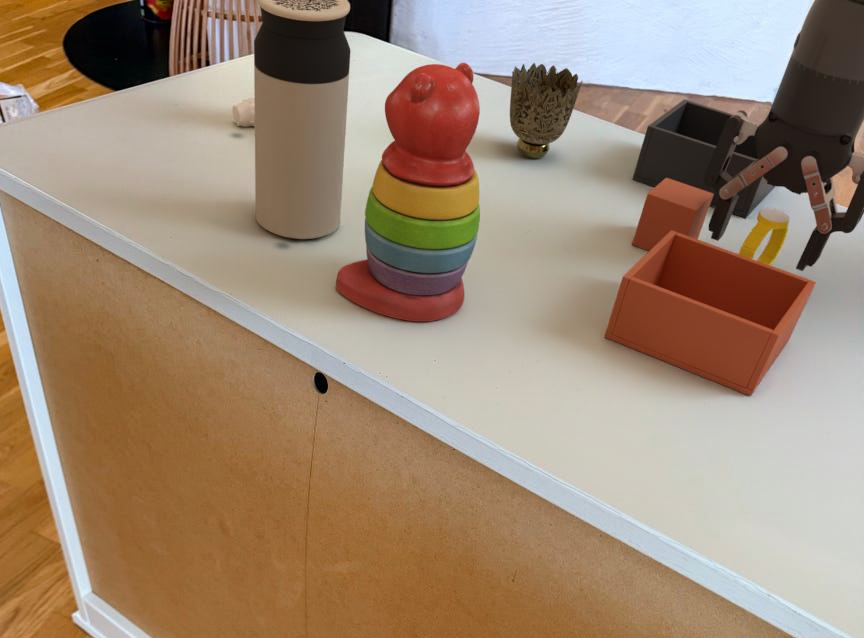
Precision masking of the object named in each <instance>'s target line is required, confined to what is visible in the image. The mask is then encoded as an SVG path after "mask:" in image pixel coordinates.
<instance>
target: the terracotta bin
mask: <svg viewBox="0 0 864 638" xmlns="http://www.w3.org/2000/svg"><path fill="white" fill-rule="evenodd" d="M620 281H621V282H620V285H619V288H618V291H617V294H616V297H615V301H614V304H613V307H612V311H611V314H610V317H609V319H608V320H609V321H608V324H607V327H606V329H605V333H604V338H606V339H608V340H611V341H613V342H616V343H618V344H621V345H623V346H625V347H628V348H631V349H633V350H636V351H638V352H640V353H643V354H645V355H648V356H651V357H653V358H655V359H658V360H661V361H663V362H665V363H667V364H670V365H673V366H675V367H677V368H680V369H683V370H685V371H687V372H690V373H692V374H695V375H697V376H700V377H702V378H705V379H707V380H709V381H713V382H715V383H717V384H720V385H722V386H725V387H728V388H730V389H732V390H734V391H737V392H740V393H742V394H744V395H746V396H750V397H751V396H752V395H753V393H754V392H755V391H756V389H757V388H758V386H759V385H760V383H761V382H762V380H763V379H764V378H765V376H766V375H767V373H768V372H769V370H770V369H771V367H772V366H773V365H774V363H775V361H776V360H777V359H778V357H779V355H780V354H781V353H782V351H783V350H784V348H785V347H786V345H787V344H788V342H789V341H790V339H791V336H792V335H793V333H794V330H795V328H796V326H797V324H798V322H799V320H800V318H801V316H802V314H803V312H804V309H805V307H806V305H807V303H808V301H809V299H810V296H811V294H812V293H813V291H814V289H815V286H816V284H817V281H815V280H812V279H810V278H806V277H804V276H801V275H798V274H795V273H792V272H790V271H787V270H784V269H781V268H779V267H776V266H773V265H767V264H765V263H762V262H759V261H757V259H754V258H753V259H751V258H748V257H745V256H742V255H739V253H736V252H733V251H731V250H728V249H724V247H723V248H722V247H720V246H717V245H714V244H711V243H708V242H705V241H702V240H700V239H698V240H697V239H695V238H692V237H689V236H686V235H683V234H681V233H677V232H675V231H672V230H671V231H670V232H669V233H668V234H667V235H666V236H665V237H664V238H663V239H662V240H661V241H660V242H659V243H657V244H656V245H655V246H654V247H653V248H652V249H651V250H650V251H648V252H647V253H646V254H645V255H644V256H642V258H641V259H640V260H638V261H637V262H636V263H635V264H634V265H633V266H632V267H631V268H630V269H629V270H628V271H627V272H626V273H625V274H623V276H622V278H621V280H620Z"/></svg>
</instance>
